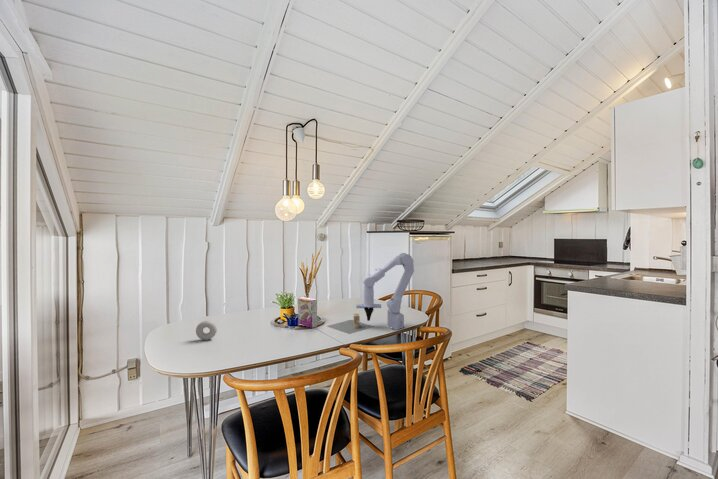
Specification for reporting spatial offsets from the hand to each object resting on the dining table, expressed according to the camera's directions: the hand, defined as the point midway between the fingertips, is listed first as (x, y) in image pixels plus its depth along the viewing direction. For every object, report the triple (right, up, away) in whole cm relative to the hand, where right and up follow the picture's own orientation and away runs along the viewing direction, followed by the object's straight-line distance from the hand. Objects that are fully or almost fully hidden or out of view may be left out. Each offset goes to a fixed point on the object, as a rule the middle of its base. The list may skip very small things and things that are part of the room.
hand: (368, 320), depth 196 cm
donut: (-84, -5, -23) cm, 88 cm away
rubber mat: (-11, -4, 0) cm, 11 cm away
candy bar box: (-36, -4, +2) cm, 36 cm away
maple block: (-7, -4, 0) cm, 8 cm away
